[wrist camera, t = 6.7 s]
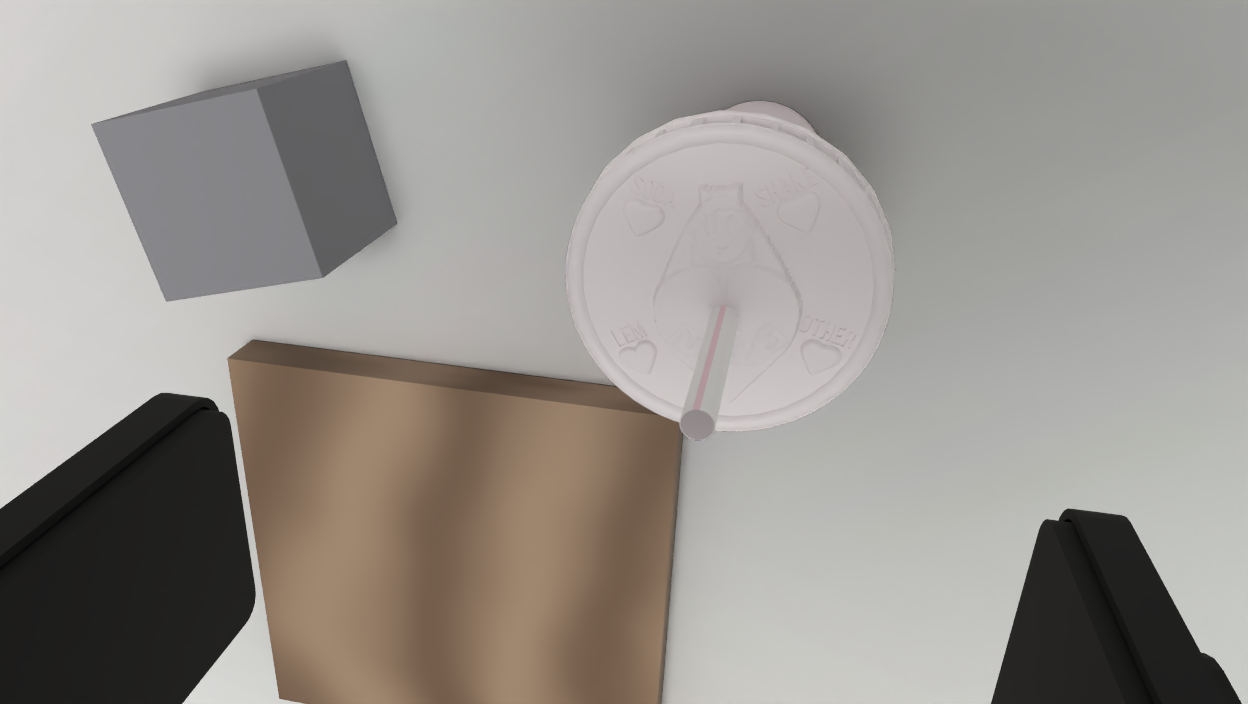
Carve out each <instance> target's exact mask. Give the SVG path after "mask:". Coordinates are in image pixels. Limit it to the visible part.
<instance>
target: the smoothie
mask: <svg viewBox="0 0 1248 704" xmlns="http://www.w3.org/2000/svg"><path fill="white" fill-rule="evenodd" d="M894 274H895V264H894V256H893V247H892V239H891V230H890V227H889V224H888V222H887V220H886V217H885V215H884V213H883V210H882V208H881V206H880V203H879V201H878V198H877V196H876V194H875V191H874V189H873V188H872V187H871V185H870V184H869V183H868V182H867V180H866V179H865V178H864V177H863V176H862V174H861V173H860V172H859V171H858V169H857V168H856V167H855V166H854V165H853V163H852V162H851V161H850V160H849V158H848V157H847V156H846V155H845V154H844V153H842V152H841V151H839V150H838V149H837V148H835V147H834V146H832V145H831V144H829V143H828V142H827V141H825V140H824V139H822V138H821V137H819V136H818V135H817V134H816V132H815V131H814V129H813V128H812V127H811V125H810V124H809V123H808V122H807V121H806V120H805V119H804V118H803V117H802V116H801V115H799V114H798V113H797V112H795V111H794V110H792V109H790V108H788V107H786V106H783V105H781V104H777V103H774V102H768V101H751V102H745V103H741V104H738V105H735V106H733V107H730V108H728V109H726V110H718V111H713V112H708V113H702V114H697V115H692V116H687V117H682V118H676V119H674V120H672V121H670V122H668V123H666V124H664V125H662V126H660V127H658V128H656V129H654V130H652V131H650V132H648V133H646V134H644V135H642V136H640V137H638V138H637V139H635V140H634V141H633V142H632V143H631V144H630V145H629V146H628V147H627V148H625V149H624V150H623V151H622V152H621V153H620V154H619V155H618V156H616V157H615V158H614V159H613V160H612V161H611V162H610V163H609V164H608V165H606V167H605V168H604V170H603V172H602V173H601V175H600V176H599V178H598V179H597V181H596V183H595V184H594V186H593V187H592V189H591V190H590V192H589V194H588V195H587V197H586V198H585V200H584V203H583V205H582V207H581V209H580V212H579V214H578V216H577V218H576V221H575V223H574V226H573V229H572V232H571V236H570V240H569V244H568V249H567V257H566V275H565V277H566V291H567V296H568V302H569V307H570V311H571V314H572V318H573V321H574V323H575V326H576V329H577V331H578V334H579V336H580V338H581V340H582V342H583V344H584V346H585V347H586V349H587V350H588V352H589V354H590V355H591V357H592V358H593V360H594V361H595V362H596V364H597V365H598V366H599V368H600V369H601V370H602V371H603V373H604V374H605V375H606V376H607V377H608V378H609V379H610V380H611V381H612V382H613V383H614V384H615V385H616V386H617V387H618V388H619V389H620V390H622V391H623V392H624V393H625V394H627V395H628V396H629V397H631V398H632V399H633V400H635V401H636V402H638V403H639V404H641V405H643V406H644V407H646V408H648V409H649V410H651V411H653V412H655V413H657V414H659V415H661V416H664V417H666V418H668V419H671V420H673V421H676V422H679V425H680V429H681V431H682V433H683V434H684V435H685V436H686V437H688V438H690V439H692V440H696V441H702V440H706V439H708V438H709V437H711V436H712V434H713V433H714V431H715V430H717V431H750V430H759V429H765V428H770V427H775V426H778V425H782V424H785V423H788V422H791V421H794V420H796V419H799V418H801V417H804V416H806V415H808V414H810V413H812V412H814V411H816V410H818V409H819V408H821V407H822V406H824V405H826V404H827V403H829V402H830V401H832V400H833V399H834V398H835V397H837V396H838V395H839V394H841V393H842V392H843V391H844V390H845V389H846V388H847V387H848V386H849V385H850V384H851V383H852V382H854V380H855V379H856V378H857V377H858V376H859V375H860V373H861V372H862V371H863V370H864V368H865V367H866V366H867V364H868V363H869V361H870V360H871V358H872V357H873V355H874V353H875V351H876V349H877V348H878V346H879V344H880V342H881V339H882V337H883V334H884V332H885V329H886V326H887V323H888V320H889V316H890V311H891V306H892V301H893V289H894Z"/></svg>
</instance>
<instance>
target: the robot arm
mask: <svg viewBox="0 0 1248 704" xmlns="http://www.w3.org/2000/svg"><path fill="white" fill-rule="evenodd" d="M255 597H256V593H255V584H254V577H253V570H252V564H251V557H250V550H249V544H248V537H247V530H246V524H245V517H244V510H243V504H242V497H241V490H240V484H239V477H238V470H237V464H236V457H235V450H234V444H233V437H232V431H231V425H230V421H229V418H228V417H227V415H226V414H224V413H223V412H219V410H218V407H217V406H216V404H215V402H214V401H212V400H211V399H209V398H203V397H195V396H187V395H180V394H172V393H160V394H158V395H156V396H154V397H153V398H151V399H150V400H148V401H147V402H146V403H144V404H143V405H142V406H140V407H139V408H138V409H136V410H135V411H133V412H132V413H131V414H129V415H128V416H127V417H125V418H124V419H123V420H121V421H120V422H118V423H117V424H116V425H114V426H113V427H112V428H110V429H109V430H107V431H106V432H105V433H103V434H102V435H101V436H99V437H98V438H97V439H95V440H94V441H92V442H91V443H90V444H88V445H87V446H86V447H84V448H83V449H81V450H80V451H79V452H77V453H76V454H75V455H73V456H72V457H71V458H69V459H68V460H66V461H65V462H64V463H62V464H61V465H60V466H58V467H57V468H56V469H54V470H53V471H51V472H50V473H49V474H47V475H46V476H45V477H43V478H42V479H40V480H39V481H38V482H36V483H35V484H34V485H32V486H31V487H30V488H28V489H27V490H25V491H24V492H23V493H21V494H20V495H19V496H17V497H16V498H14V499H13V500H12V501H10V502H9V503H8V504H6V505H5V506H4V507H2V508H1V509H0V704H182V703H183V702H184V701H185V699H186V698H187V697H188V696H189V694H190V693H191V692H192V691H193V689H194V688H195V687H196V686H197V684H198V683H199V682H200V681H201V679H202V678H203V677H204V675H205V674H206V673H207V672H208V670H209V669H210V668H211V667H212V665H213V664H214V663H215V662H216V660H217V659H218V658H219V657H220V655H221V654H222V653H223V652H224V650H225V649H226V648H227V647H228V645H229V644H230V643H231V642H232V640H233V639H234V638H235V637H236V635H237V634H238V633H239V631H240V630H241V629H242V628H243V626H244V625H245V624H246V622H247V621H248V619H249V618H250V615H251V613H252V611H253V607H254V604H255ZM991 704H1242V703H1241V701H1240V700H1239V698H1238V696H1237V694H1236V692H1235V691H1234V689H1233V687H1232V685H1231V683H1230V682H1229V680H1228V678H1227V676H1226V674H1225V673H1224V671H1223V669H1222V668H1221V667H1220V666H1219V664H1218V663H1217V662H1216V660H1215V659H1214V658H1212V657H1210V656H1209V655H1207V654H1205V653H1201V652H1200V650H1199V648H1198V647H1197V645H1196V643H1195V641H1194V639H1193V637H1192V635H1191V634H1190V632H1189V630H1188V628H1187V626H1186V624H1185V622H1184V621H1183V619H1182V617H1181V615H1180V613H1179V611H1178V609H1177V608H1176V606H1175V604H1174V602H1173V600H1172V598H1171V596H1170V595H1169V593H1168V591H1167V589H1166V587H1165V585H1164V583H1163V582H1162V580H1161V578H1160V576H1159V574H1158V572H1157V571H1156V569H1155V567H1154V565H1153V563H1152V561H1151V559H1150V558H1149V556H1148V554H1147V552H1146V550H1145V548H1144V546H1143V545H1142V543H1141V541H1140V539H1139V537H1138V535H1137V533H1136V532H1135V530H1134V528H1133V526H1132V524H1131V522H1130V521H1129V520H1128V519H1127V517H1125V516H1122V515H1115V514H1107V513H1100V512H1092V511H1084V510H1076V509H1066V510H1065V511H1064V512H1063V513H1062V515H1061V516H1060V518H1059V521H1056V520H1048V519H1046V520H1045V521H1043V523H1042V525H1041V527H1040V529H1039V532H1038V536H1037V539H1036V543H1035V547H1034V550H1033V554H1032V558H1031V561H1030V565H1029V568H1028V572H1027V576H1026V579H1025V583H1024V586H1023V590H1022V594H1021V597H1020V601H1019V605H1018V608H1017V612H1016V615H1015V619H1014V623H1013V626H1012V630H1011V633H1010V637H1009V641H1008V644H1007V648H1006V652H1005V655H1004V659H1003V662H1002V666H1001V670H1000V673H999V677H998V680H997V684H996V688H995V691H994V695H993V699H992V702H991Z"/></svg>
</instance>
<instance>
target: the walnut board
mask: <svg viewBox="0 0 1248 704" xmlns="http://www.w3.org/2000/svg"><path fill="white" fill-rule="evenodd" d="M227 359H228V365H229V372H230V379H231V385H232V392H233V398H234V405H235V411H236V418H237V424H238V431H239V437H240V444H241V450H242V457H243V464H244V470H245V477H246V483H247V490H248V496H249V503H250V509H251V516H252V522H253V529H254V535H255V542H256V549H257V555H258V562H259V568H260V575H261V581H262V588H263V594H264V601H265V607H266V614H267V621H268V627H269V634H270V640H271V647H272V653H273V660H274V666H275V673H276V679H277V686H278V692H279V699H284V700H289V701H294V702H300V703H305V704H661V703H662V690H663V678H664V665H665V653H666V640H667V627H668V615H669V602H670V590H671V577H672V565H673V552H674V540H675V527H676V515H677V502H678V489H679V477H680V464H681V452H682V439H683V433H682V431H681V429H680V425H679V422H676V421H673V420H671V419H668V418H666V417H664V416H661V415H659V414H657V413H655V412H653V411H651V410H649V409H648V408H646V407H644V406H643V405H641V404H639V403H638V402H636V401H635V400H633V399H632V398H631V397H629V396H628V395H627V394H625V393H624V392H623V391H622V390H620V389H619V388H618V387H614V386H606V385H598V384H591V383H583V382H575V381H567V380H560V379H552V378H544V377H536V376H528V375H521V374H513V373H505V372H497V371H490V370H482V369H474V368H466V367H458V366H451V365H443V364H435V363H427V362H420V361H412V360H404V359H396V358H388V357H381V356H373V355H365V354H357V353H350V352H342V351H334V350H326V349H318V348H311V347H303V346H295V345H287V344H280V343H272V342H264V341H256V340H251V341H250V342H249V343H247V344H246V345H245V346H243V347H242V348H241V349H239V350H238V351H237V352H235V353H234V354H233V355H231V356H230V357H229V358H227Z"/></svg>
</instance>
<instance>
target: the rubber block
mask: <svg viewBox="0 0 1248 704" xmlns="http://www.w3.org/2000/svg"><path fill="white" fill-rule="evenodd" d="M91 125H92V128H93V130H94V132H95V135H96V137H97V139H98V142H99V144H100V146H101V149H102V151H103V154H104V156H105V158H106V161H107V163H108V165H109V168H110V170H111V172H112V175H113V177H114V180H115V182H116V184H117V187H118V189H119V191H120V194H121V196H122V198H123V201H124V203H125V206H126V208H127V210H128V213H129V215H130V217H131V220H132V222H133V224H134V227H135V229H136V232H137V234H138V236H139V239H140V241H141V243H142V246H143V248H144V250H145V253H146V255H147V257H148V260H149V262H150V265H151V267H152V269H153V272H154V274H155V276H156V279H157V281H158V283H159V286H160V288H161V291H162V293H163V295H164V298H165V300H166V302H167V301H174V300H180V299H187V298H193V297H200V296H206V295H213V294H220V293H226V292H233V291H239V290H246V289H253V288H259V287H266V286H272V285H279V284H286V283H292V282H299V281H305V280H312V279H319V278H323V277H325V276H326V275H327V274H329V273H330V272H331V271H333V270H334V269H336V268H337V267H338V266H340V265H341V264H342V263H344V262H345V261H347V260H348V259H349V258H351V257H352V256H353V255H355V254H356V253H357V252H359V251H360V250H362V249H363V248H364V247H366V246H367V245H368V244H370V243H371V242H372V241H374V240H375V239H377V238H378V237H379V236H381V235H382V234H383V233H385V232H386V231H388V230H389V229H390V228H392V227H393V226H394V225H396V224H397V221H396V218H395V214H394V211H393V208H392V205H391V202H390V198H389V195H388V192H387V189H386V186H385V182H384V179H383V176H382V173H381V170H380V166H379V163H378V160H377V157H376V154H375V150H374V147H373V144H372V141H371V138H370V134H369V131H368V128H367V125H366V121H365V118H364V115H363V112H362V109H361V105H360V102H359V99H358V96H357V93H356V89H355V86H354V83H353V80H352V77H351V73H350V70H349V67H348V64H347V61H341V62H337V63H332V64H327V65H323V66H318V67H314V68H309V69H304V70H300V71H295V72H291V73H286V74H281V75H277V76H272V77H268V78H263V79H259V80H254V81H249V82H245V83H240V84H236V85H231V86H226V87H222V88H217V89H213V90H208V91H203V92H200V93H196V94H193V95H189V96H186V97H183V98H179V99H176V100H172V101H169V102H166V103H162V104H159V105H155V106H152V107H148V108H145V109H142V110H138V111H135V112H131V113H128V114H125V115H121V116H118V117H114V118H111V119H107V120H104V121H101V122H97V123H94V124H91Z"/></svg>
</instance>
